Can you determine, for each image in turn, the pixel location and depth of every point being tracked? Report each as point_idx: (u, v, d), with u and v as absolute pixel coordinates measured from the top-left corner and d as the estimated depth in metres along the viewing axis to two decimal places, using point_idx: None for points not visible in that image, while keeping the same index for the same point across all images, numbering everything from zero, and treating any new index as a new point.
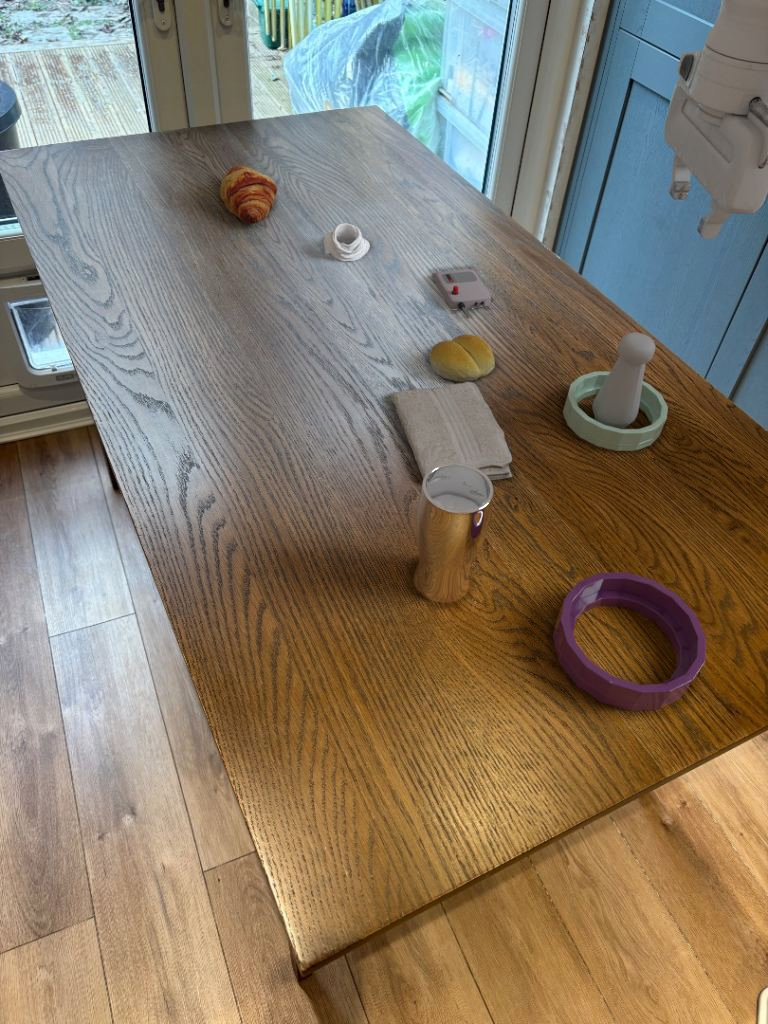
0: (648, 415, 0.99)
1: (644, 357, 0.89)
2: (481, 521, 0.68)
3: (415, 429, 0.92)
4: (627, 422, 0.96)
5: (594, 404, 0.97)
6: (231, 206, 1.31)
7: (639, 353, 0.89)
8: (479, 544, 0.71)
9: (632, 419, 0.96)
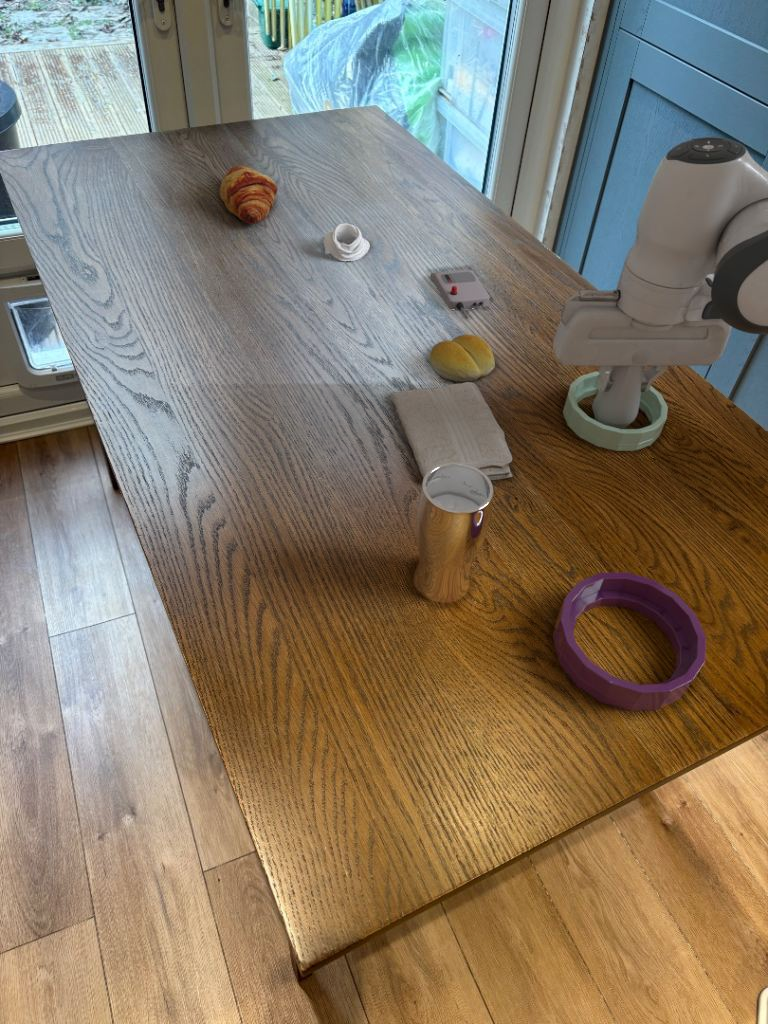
0: (648, 415, 0.99)
1: (644, 357, 0.89)
2: (481, 521, 0.68)
3: (415, 429, 0.92)
4: (627, 422, 0.96)
5: (594, 404, 0.97)
6: (231, 206, 1.31)
7: (639, 353, 0.89)
8: (479, 544, 0.71)
9: (632, 419, 0.96)
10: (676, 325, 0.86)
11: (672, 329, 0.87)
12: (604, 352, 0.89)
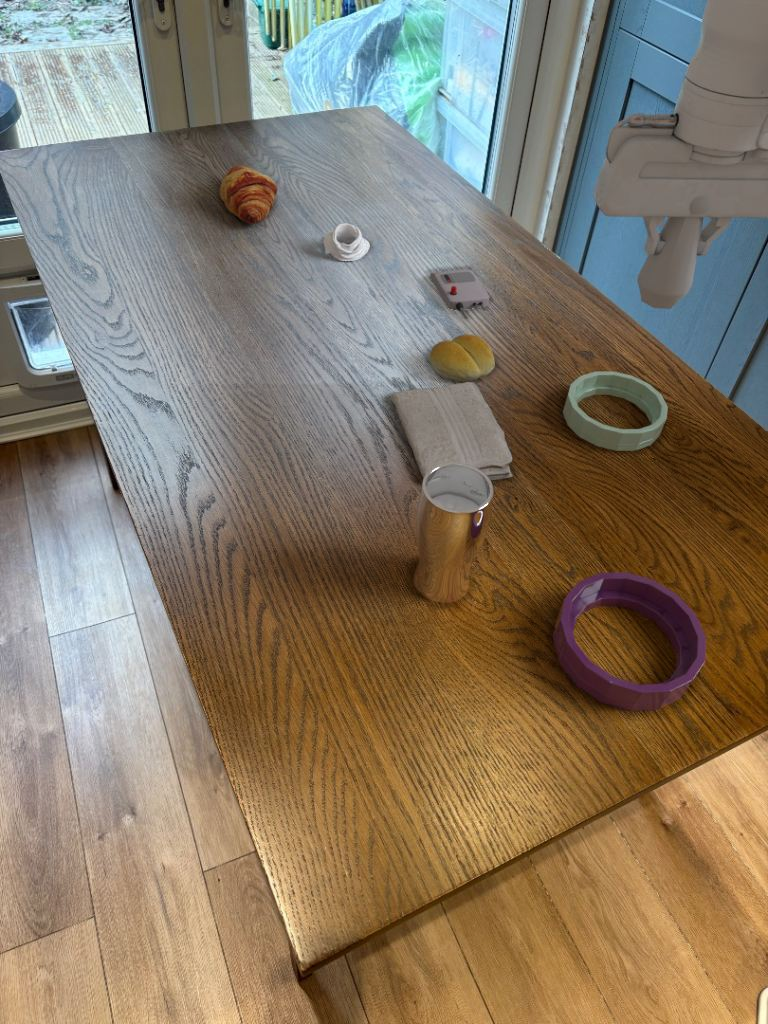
0: (648, 415, 0.99)
1: (704, 204, 0.74)
2: (481, 521, 0.68)
3: (415, 429, 0.92)
4: (680, 293, 0.81)
5: (640, 275, 0.82)
6: (231, 206, 1.31)
7: (698, 199, 0.74)
8: (479, 544, 0.71)
9: (686, 290, 0.81)
10: (745, 159, 0.72)
11: (739, 166, 0.72)
12: (657, 198, 0.74)
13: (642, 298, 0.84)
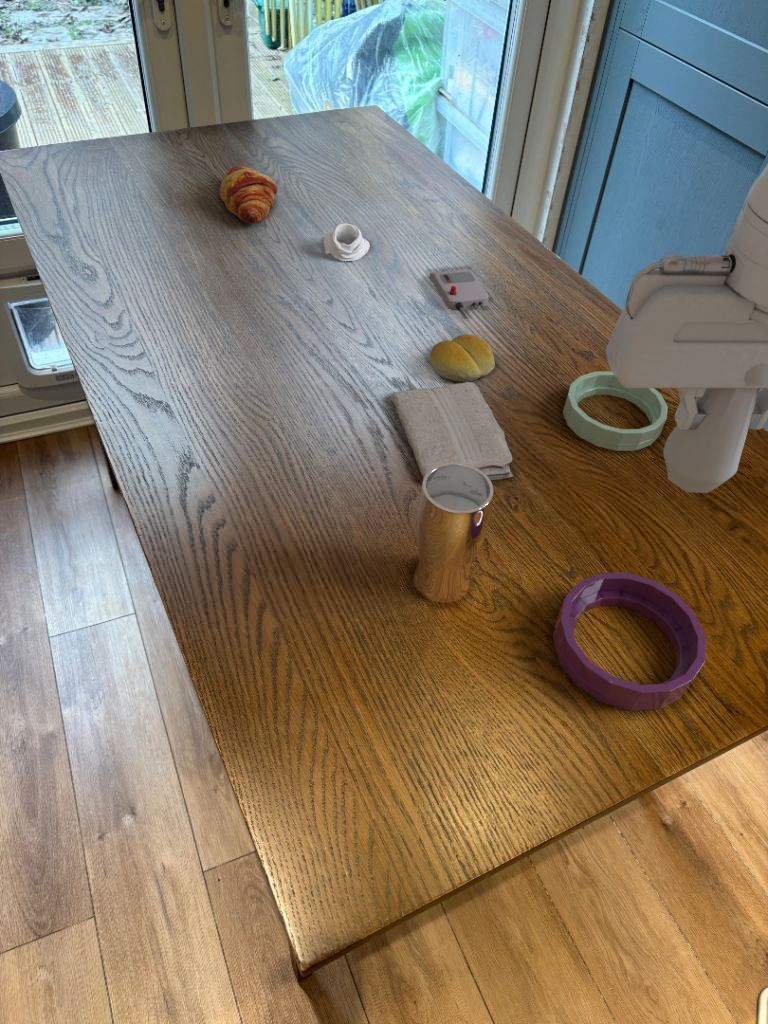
0: (648, 415, 0.99)
1: (765, 373, 0.52)
2: (481, 521, 0.68)
3: (415, 429, 0.92)
4: (724, 479, 0.58)
5: (668, 448, 0.60)
6: (231, 206, 1.31)
7: (757, 367, 0.51)
8: (479, 544, 0.71)
9: (732, 473, 0.58)
10: None
11: None
12: (698, 366, 0.51)
13: (669, 477, 0.61)
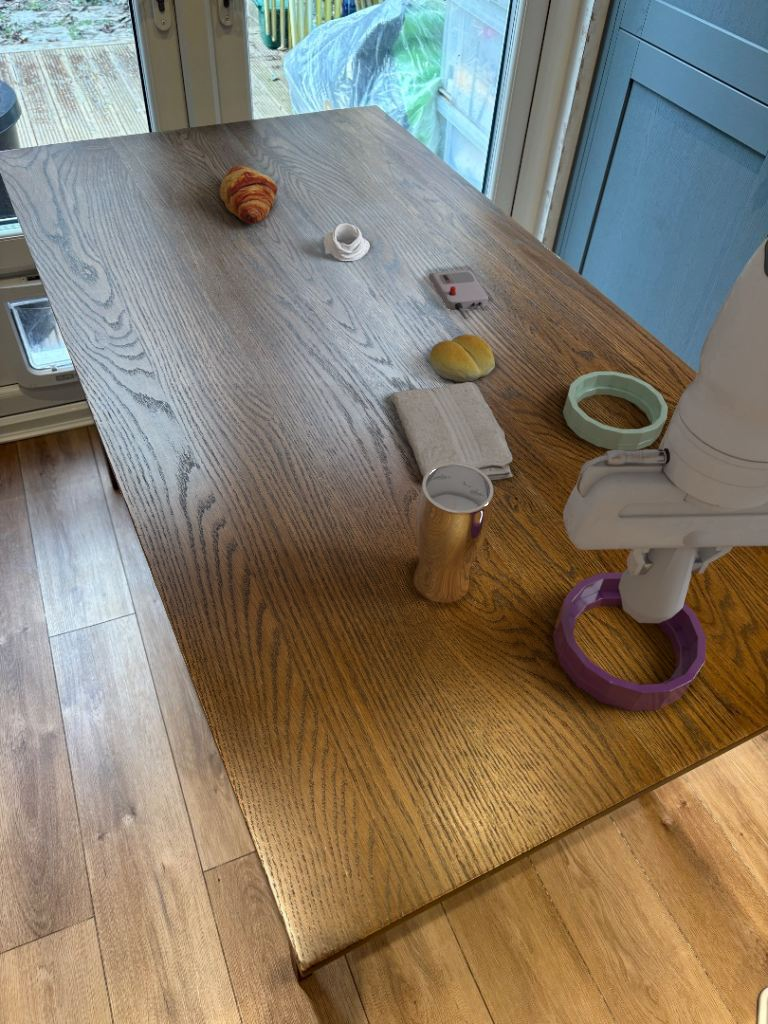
0: (648, 415, 0.99)
1: (701, 538, 0.59)
2: (481, 521, 0.68)
3: (415, 429, 0.92)
4: (671, 615, 0.66)
5: (622, 585, 0.67)
6: (231, 206, 1.31)
7: (693, 534, 0.59)
8: (479, 544, 0.71)
9: (678, 610, 0.66)
10: None
11: None
12: (642, 534, 0.58)
13: (624, 608, 0.68)
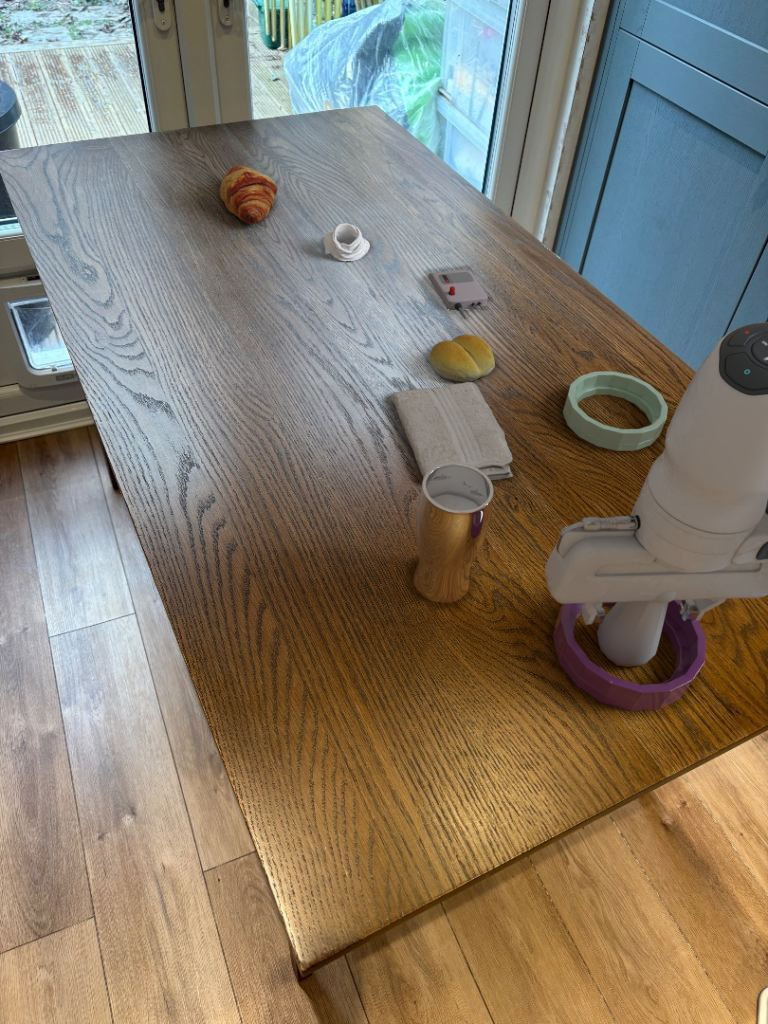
0: (648, 415, 0.99)
1: (669, 596, 0.65)
2: (481, 521, 0.68)
3: (415, 429, 0.92)
4: (644, 662, 0.71)
5: (600, 633, 0.73)
6: (231, 206, 1.31)
7: (662, 592, 0.64)
8: (479, 544, 0.71)
9: (651, 657, 0.71)
10: None
11: None
12: (617, 590, 0.64)
13: None
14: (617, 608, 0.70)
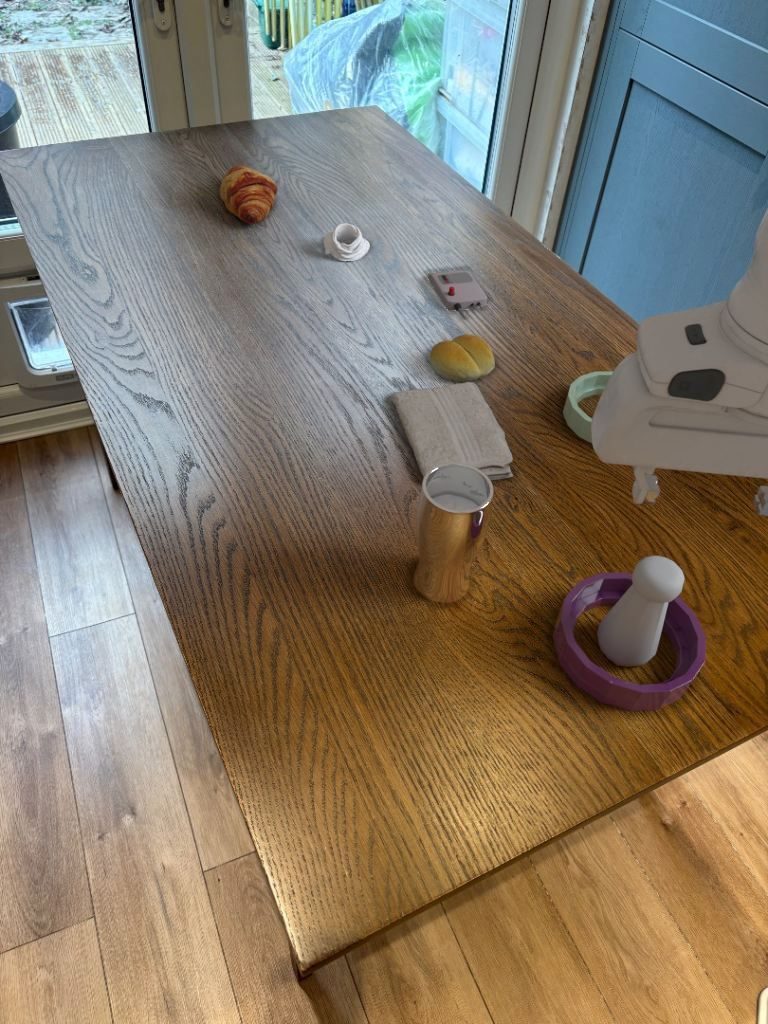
0: None
1: (669, 596, 0.65)
2: (481, 521, 0.68)
3: (416, 429, 0.92)
4: (644, 662, 0.71)
5: (600, 633, 0.73)
6: (231, 206, 1.31)
7: (662, 592, 0.64)
8: (479, 544, 0.71)
9: (651, 657, 0.71)
10: None
11: None
12: None
13: None
14: (617, 608, 0.70)
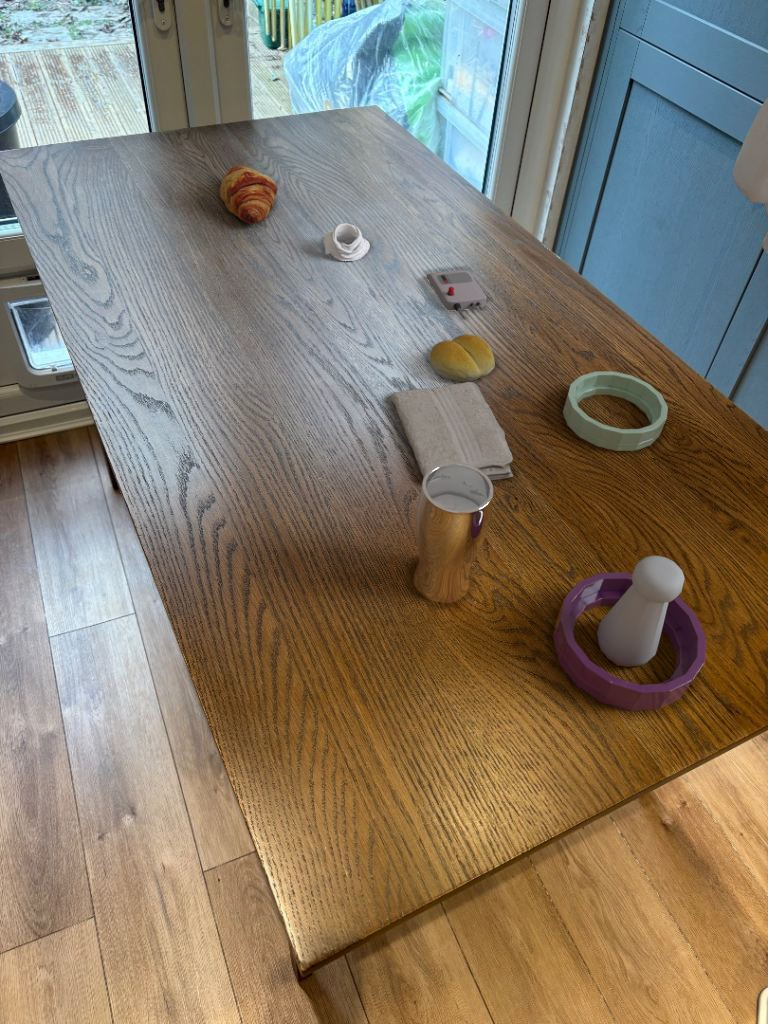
0: (648, 415, 0.99)
1: (669, 596, 0.65)
2: (481, 521, 0.68)
3: (416, 429, 0.92)
4: (644, 662, 0.71)
5: (600, 633, 0.73)
6: (231, 206, 1.31)
7: (662, 592, 0.64)
8: (479, 544, 0.71)
9: (651, 657, 0.71)
10: None
11: None
12: None
13: None
14: (617, 608, 0.70)
